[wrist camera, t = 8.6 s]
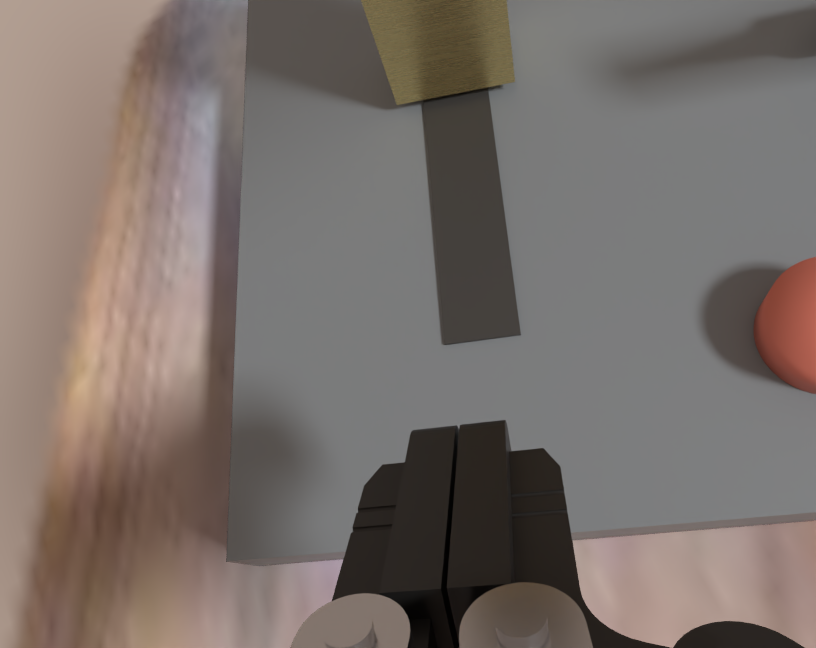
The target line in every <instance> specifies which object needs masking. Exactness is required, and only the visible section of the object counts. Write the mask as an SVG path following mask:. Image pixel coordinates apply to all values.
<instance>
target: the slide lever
mask: <svg viewBox="0 0 816 648" xmlns="http://www.w3.org/2000/svg"><path fill="white" fill-rule="evenodd" d="M361 2H362V5H363V8H364V11H365V14H366V16H367V19H368V22H369V25H370V28H371V31H372V34H373V37H374V40H375V43H376V46H377V48H378V51H379V54H380V57H381V60H382V63H383V66H384V69H385V72H386V75H387V78H388V81H389V83H390V86H391V89H392V92H393V95H394V98H395V101H396V104H397V105H400V104H405V103H410V102H415V101H421V100H426V99H431V98H436V97H441V96H446V95H451V94H456V93H461V92H467V91H472V90H477V89H482V88H487V87H492V86H497V85H502V84H508V83H513V82H515V76H514V67H513V57H512V47H511V38H510V28H509V18H508V9H507V0H361Z"/></svg>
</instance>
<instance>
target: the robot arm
mask: <svg viewBox="0 0 816 648" xmlns="http://www.w3.org/2000/svg"><path fill="white" fill-rule="evenodd" d="M352 528H353V532H352V533H351V534H350V538H349V542H348V545H347V549H346V552H345V556H344V559H343V563H342V567H341V570H340V574H339V577H338V581H337V585H336V588H335V592H334V595H333V599H332V602H329V603H327V604H326V605H324V606H322V607H321V608H319V609H318V610H317V611H315V612H314V613H313V614H312V615H311V616H310V617H309V618H308V619H307V620H306V621H305V622H304V623H303V624H302V626H301V627H300V628H299V630H298V632H297V634H296V636H295V638H294V640H293V642H292V645H291V647H290V648H669V647H665V646H660V645H655V644H651V643H646V642H642V641H638V640H635V639H631V638H629V637H626V636H624V635H621V634H619V633H617V632H615V631H614V630H612V629H610V628H608V627H607V626H606V625H604V624H603V623H602V622H600V621H599V620H598V619H597V618H596V617H595V616H594V615H593V614H592V613H591V611H590V610H589V609H588V607H587V606H586V604H585V602H584V600H583V598H582V595H581V591H580V587H579V580H578V574H577V568H576V562H575V555H574V549H573V543H572V536H571V530H570V524H569V518H568V512H567V505H566V499H565V493H564V486H563V480H562V474H561V467H560V465H559V464H558V463H557V462H556V461H555V460H554V459H553V458H552V457H551V456H550V455H549V454H548V452H547V451H546V450H545V449H544V448H538V449H528V450H518V451H511V445H510V439H509V433H508V427H507V423H506V420H499V421H490V422H481V423H472V424H462V425H460V427H459V428H458V426H457V425H455V426H446V427H437V428H428V429H418V430H412V431H411V434H410V438H409V443H408V448H407V453H406V459H405V462H403V463H393V464H383V465H381V467H380V468H379V469H378V470H377V471H376V472H375V474H374V475H373V476H372V477H371V478H370V479H369V480H368V482H367V483H366V484H365V485H364V488H363V491H362V495H361V498H360V502H359V506H358V513H356V516H355V520H354V524H353V527H352ZM673 648H804V647H803V646H801V645H799V644H798V643H796V642H794V641H793V640H791V639H789V638H787V637H786V636H784V635H782V634H780V633H778V632H776V631H773V630H771V629H768V628H766V627H762V626H759V625H755V624H751V623H744V622H734V621H723V622H714V623H710V624H705V625H702V626H700V627H697V628H695V629H692V630H691V631H689V632H688V633H686V634H685V635H684V636H683V637H682V638H680V639H679V640H678V641H677V643H676V644H675V646H674V647H673Z"/></svg>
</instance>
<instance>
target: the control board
mask: <svg viewBox="0 0 816 648" xmlns="http://www.w3.org/2000/svg"><path fill="white" fill-rule="evenodd" d="M507 9H508V18H509V28H510V38H511V47H512V57H513V67H514V76H515V82H513V83H508V84H502V85H497V86H492V87H487V88H482V89H477V90H472V91H467V92H461V93H456V94H451V95H446V96H441V97H436V98H431V99H426V100H421V101H415V102H410V103H405V104H400V105H397V104H396V101H395V98H394V95H393V92H392V89H391V86H390V83H389V81H388V78H387V75H386V72H385V69H384V66H383V63H382V60H381V57H380V54H379V51H378V48H377V46H376V43H375V40H374V37H373V34H372V31H371V28H370V25H369V22H368V19H367V16H366V14H365V11H364V8H363V5H362V2H361V0H248V23H247V49H246V74H245V100H244V125H243V151H242V176H241V202H240V227H239V253H238V278H237V303H236V329H235V354H234V380H233V405H232V431H231V456H230V482H229V507H228V533H227V558H226V562H233V563H241V564H248V565H255V566H264V565H276V564H288V563H301V562H313V561H325V560H337V559H344V556H345V552H346V549H347V545H348V542H349V538H350V534H351V533H352V532H353V528H352V527H353V524H354V520H355V516H356V513H358V506H359V502H360V498H361V495H362V491H363V488H364V485H365V484H366V483H367V482H368V480H369V479H370V478H371V477H372V476H373V475H374V474H375V472H376V471H377V470H378V469H379V468H380V467H381V465H383V464H393V463H403V462H405V459H406V453H407V448H408V443H409V438H410V434H411V431H412V430H418V429H428V428H437V427H446V426H455V425H457V426H458V428H459V427H460V425H462V424H472V423H481V422H490V421H499V420H506V423H507V427H508V433H509V439H510V445H511V451H518V450H528V449H538V448H544V449H545V450H546V451H547V452H548V454H549V455H550V456H551V457H552V458H553V459H554V460H555V461H556V462H557V463H558V464H559V465H560V467H561V474H562V480H563V486H564V493H565V499H566V505H567V512H568V518H569V524H570V530H571V536H572V540H582V539H594V538H606V537H618V536H631V535H643V534H655V533H667V532H680V531H692V530H704V529H716V528H729V527H741V526H753V525H765V524H777V523H790V522H802V521H814V520H816V0H507Z"/></svg>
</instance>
